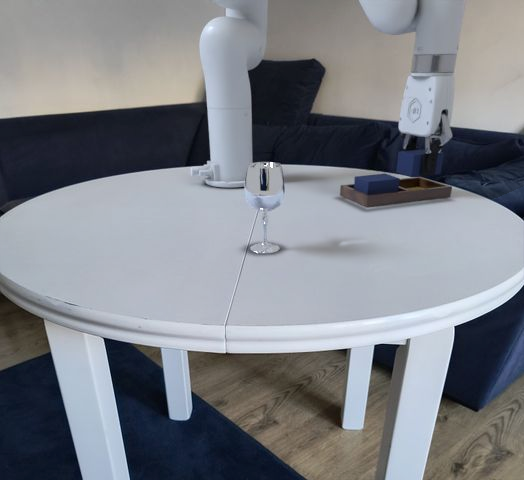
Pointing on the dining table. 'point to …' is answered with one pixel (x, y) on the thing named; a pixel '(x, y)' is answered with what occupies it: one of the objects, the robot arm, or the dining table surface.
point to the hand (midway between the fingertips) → (418, 171)
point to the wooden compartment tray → (399, 192)
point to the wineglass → (264, 195)
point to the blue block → (376, 184)
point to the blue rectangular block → (414, 162)
